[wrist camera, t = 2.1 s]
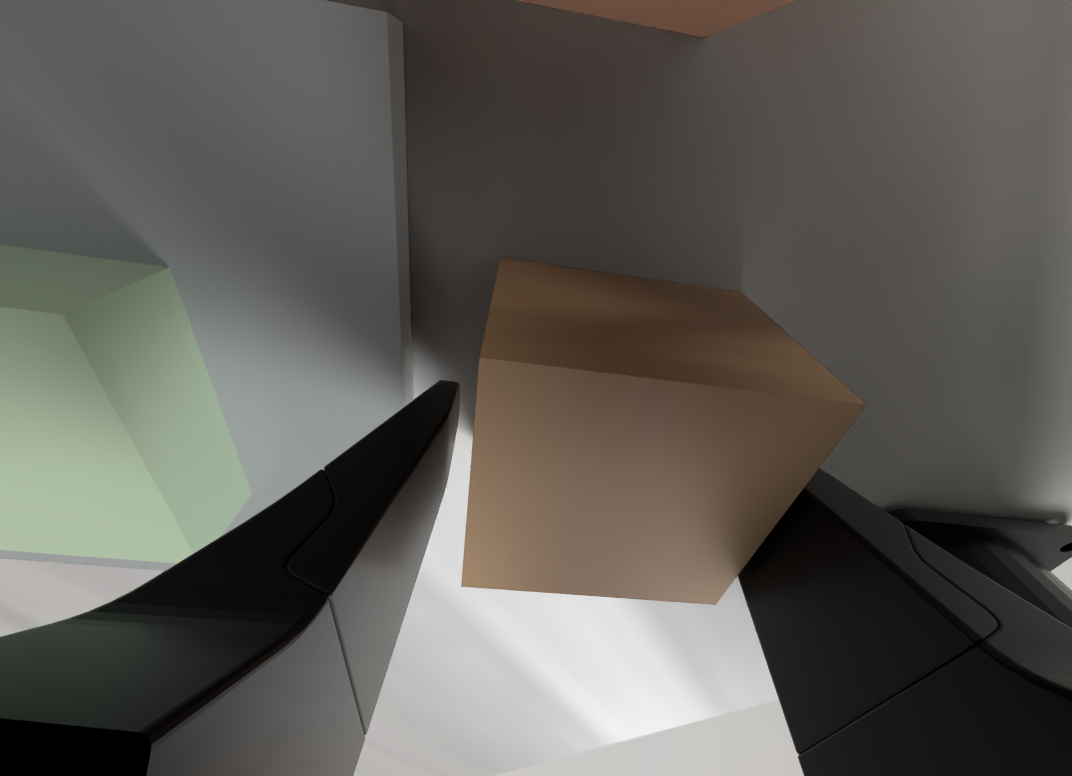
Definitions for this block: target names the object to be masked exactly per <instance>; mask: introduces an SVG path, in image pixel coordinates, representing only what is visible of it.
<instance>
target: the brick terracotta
mask: <svg viewBox="0 0 1072 776" xmlns="http://www.w3.org/2000/svg"><path fill="white" fill-rule="evenodd" d="M517 1H522V2H527V3H532V4H537V5H542V6H547V7H552V8H557V9H562V10H567V11H572V12H577V13H583V14H588V15H593V16H598V17H603V18H608V19H613V20H618V21H623V22H628V23H633V24H638V25H643V26H648V27H653V28H658V29H663V30H669V31H674V32H679V33H684V34H689V35H694V36H699V37H704V38H706V37H709V36H711V35H714V34H716V33H718V32H721V31H723V30H726V29H728V28H731V27H733V26H735V25H738V24H740V23H743V22H745V21H747V20H750V19H752V18H755V17H757V16H759V15H762V14H764V13H767V12H769V11H771V10H774V9H776V8H779V7H781V6H784V5H786V4H788V3H791V2H793V1H796V0H517Z"/></svg>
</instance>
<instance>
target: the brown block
mask: <svg viewBox="0 0 1072 776" xmlns="http://www.w3.org/2000/svg"><path fill="white" fill-rule="evenodd" d="M866 405H867V404H866V403H865V402H863V401H862V400H861V399H860V398H859V397H858V396H857V395H856V394H854V393H853V392H852V391H851V390H850V389H849V388H848V387H847V386H846V385H844V384H843V383H842V382H841V381H840V380H839V379H838V378H837V377H835V376H834V375H833V374H832V373H831V372H830V371H829V370H828V369H827V368H825V367H824V366H823V365H822V364H821V363H820V362H819V361H818V360H816V359H815V358H814V357H813V356H812V355H811V354H810V353H809V352H807V351H806V350H805V349H804V348H803V347H802V346H801V345H800V344H799V343H797V342H796V341H795V340H794V339H793V338H792V337H791V336H790V335H788V334H787V333H786V332H785V331H784V330H783V329H782V328H781V327H780V326H778V325H777V324H776V323H775V322H774V321H773V320H772V319H771V318H769V317H768V316H767V315H766V314H765V313H764V312H763V311H762V310H760V309H759V308H758V307H757V306H756V305H755V304H754V303H753V302H752V301H750V300H749V299H748V298H747V297H746V296H745V295H744V294H743V293H741V292H735V291H729V290H722V289H715V288H708V287H701V286H694V285H687V284H680V283H673V282H666V281H659V280H653V279H646V278H639V277H632V276H625V275H618V274H611V273H604V272H597V271H590V270H584V269H577V268H570V267H563V266H556V265H549V264H542V263H535V262H528V261H521V260H514V259H508V258H501V257H500V261H499V266H498V271H497V276H496V281H495V285H494V290H493V295H492V300H491V304H490V309H489V314H488V319H487V324H486V328H485V333H484V338H483V343H482V347H481V352H480V357H479V369H478V382H477V394H476V407H475V420H474V432H473V445H472V458H471V471H470V483H469V496H468V509H467V521H466V534H465V547H464V559H463V572H462V585H461V587H475V588H489V589H503V590H517V591H531V592H545V593H559V594H573V595H587V596H601V597H615V598H629V599H643V600H657V601H671V602H685V603H699V604H713V605H716V603H717V602H718V601H719V599H720V598H721V597H722V595H723V594H724V593H725V591H726V590H727V589H728V587H729V586H730V585H731V584H732V582H733V581H734V580H735V578H736V577H737V576H738V574H739V573H740V572H741V570H742V569H743V568H744V566H745V565H746V564H747V562H748V561H749V560H750V558H751V557H752V556H753V554H754V553H755V552H756V550H757V549H758V548H759V546H760V545H761V544H762V543H763V541H764V540H765V539H766V537H767V536H768V535H769V533H770V532H771V531H772V529H773V528H774V527H775V525H776V524H777V523H778V521H779V520H780V519H781V517H782V516H783V515H784V513H785V512H786V511H787V509H788V508H789V507H790V505H791V504H792V503H793V502H794V500H795V499H796V498H797V496H798V495H799V494H800V492H801V491H802V490H803V488H804V487H805V486H806V484H807V483H808V482H809V480H810V479H811V478H812V476H813V475H814V474H815V472H816V471H817V470H818V468H819V467H820V466H821V464H822V463H823V462H824V461H825V459H826V458H827V457H828V455H829V454H830V453H831V451H832V450H833V449H834V447H835V446H836V445H837V443H838V442H839V441H840V439H841V438H842V437H843V435H844V434H845V433H846V431H847V430H848V429H849V427H850V426H851V425H852V423H853V422H854V421H855V420H856V418H857V417H858V416H859V414H860V413H861V412H862V410H863V409H864V408H865V406H866Z"/></svg>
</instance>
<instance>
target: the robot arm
mask: <svg viewBox="0 0 1072 776" xmlns="http://www.w3.org/2000/svg"><path fill="white" fill-rule="evenodd" d="M459 406H460V384H459V383H458V382H454V381H446V380H440V381H438V382H437V383H436V384H434V385H433V386H432V387H430V388H429V389H428V390H426V391H425V392H424V393H422V394H421V395H420V396H418V397H417V398H415V399H414V400H413V401H411V402H410V403H409V404H407V405H406V406H405V407H403V408H402V409H401V410H399V411H398V412H397V413H395V414H394V415H393V416H391V417H390V418H389V419H387V420H386V421H385V422H383V423H382V424H381V425H379V426H378V427H377V428H375V429H374V430H373V431H371V432H370V433H369V434H367V435H366V436H365V437H363V438H362V439H361V440H359V441H358V442H357V443H355V444H354V445H353V446H351V447H350V448H349V449H347V450H346V451H345V452H343V453H342V454H340V455H339V456H338V457H336V458H335V459H334V460H332V461H331V462H330V463H328V464H327V465H326V466H325V467H324V470H323V469H321V470H319V471H317V472H316V473H315V474H313V475H312V476H311V477H309V478H308V479H307V480H305V481H304V482H303V483H301V484H300V485H298V486H297V487H296V488H294V489H293V490H291V491H290V492H289V493H287V494H286V495H284V496H283V497H282V498H280V499H279V500H277V501H276V502H274V503H273V504H271V505H270V506H268V507H267V508H265V509H264V510H262V511H260V512H259V513H257V514H256V515H254V516H253V517H251V518H250V519H248V520H246V521H245V522H243V523H242V524H240V525H239V526H237V527H235V528H234V529H232V530H231V531H229V532H227V533H226V534H224V535H222V536H221V537H219V538H218V539H216V540H214V541H213V542H211V543H210V544H208V545H206V546H205V547H203V548H201V549H200V550H198V551H197V552H195V553H193V554H192V555H190V556H189V557H187V558H185V559H184V560H182V561H180V562H179V563H177V564H176V565H174V566H172V567H171V568H169V569H168V570H166V571H164V572H163V573H161V574H159V575H158V576H156V577H155V578H153V579H151V580H150V581H148V582H146V583H145V584H143V585H141V586H140V587H138V588H136V589H134V590H133V591H131V592H129V593H127V594H125V595H123V596H121V597H119V598H117V599H115V600H113V601H111V602H109V603H107V604H105V605H102V606H100V607H98V608H95V609H93V610H91V611H88V612H86V613H83V614H80V615H77V616H74V617H71V618H68V619H65V620H62V621H58V622H55V623H51V624H48V625H44V626H40V627H36V628H32V629H29V630H25V631H21V632H17V633H13V634H9V635H6V636H2V637H0V776H353V774H354V771H355V768H356V765H357V762H358V759H359V756H360V753H361V750H362V747H363V743H364V740H365V736H364V735H366V733H367V731H368V727H369V724H370V721H371V718H372V715H373V712H374V709H375V706H376V703H377V700H378V696H379V693H380V690H381V687H382V684H383V681H384V678H385V675H386V672H387V669H388V665H389V662H390V659H391V656H392V653H393V650H394V647H395V644H396V641H397V638H398V634H399V631H400V628H401V625H402V622H403V619H404V616H405V613H406V610H407V607H408V603H409V600H410V597H411V594H412V591H413V588H414V585H415V582H416V579H417V576H418V573H419V569H420V566H421V563H422V560H423V557H424V554H425V551H426V548H427V545H428V542H429V538H430V535H431V532H432V529H433V526H434V523H435V520H436V517H437V514H438V511H439V507H440V504H441V501H442V498H443V495H444V491H445V488H446V484H447V480H448V475H449V470H450V464H451V459H452V453H453V448H454V442H455V437H456V431H457V426H458V420H459ZM1071 557H1072V526H1070V525H1060V524H1050V523H1040V522H1030V521H1021V520H1011V519H1001V518H991V517H981V516H971V515H961V514H951V513H942V512H932V511H922V510H912V509H898V510H894V511H891V512H889V513H887V512H885V511H884V510H882V509H881V508H879V507H878V506H876V505H875V504H873V503H872V502H870V501H869V500H867V499H866V498H864V497H863V496H861V495H859V494H858V493H856V492H855V491H853V490H852V489H850V488H849V487H847V486H846V485H844V484H843V483H841V482H840V481H838V480H837V479H835V478H834V477H832V476H831V475H829V474H828V473H826V472H825V471H823V470H822V469H820V468H818V470H817V471H816V472H815V474H814V475H813V476H812V478H811V479H810V480H809V482H808V483H807V484H806V486H805V487H804V488H803V490H802V491H801V492H800V494H799V495H798V496H797V498H796V499H795V500H794V502H793V503H792V504H791V505H790V507H789V508H788V509H787V511H786V512H785V513H784V515H783V516H782V517H781V519H780V520H779V521H778V523H777V524H776V525H775V527H774V528H773V529H772V531H771V532H770V533H769V535H768V536H767V537H766V539H765V540H764V541H763V543H762V544H761V545H760V546H759V548H758V549H757V550H756V552H755V553H754V554H753V556H752V557H751V558H750V560H749V561H748V562H747V564H746V565H745V566H744V568H743V569H742V570H741V572H740V573H739V574H738V578H739V581H740V584H741V587H742V590H743V593H744V596H745V599H746V602H747V605H748V608H749V611H750V614H751V617H752V620H753V623H754V626H755V629H756V632H757V635H758V638H759V641H760V644H761V647H762V650H763V653H764V656H765V659H766V662H767V665H768V668H769V671H770V674H771V677H772V680H773V683H774V686H775V689H776V692H777V695H778V698H779V701H780V704H781V707H782V710H783V713H784V716H785V719H786V722H787V725H788V728H789V731H790V733H791V737H792V739H793V742H794V746H795V749H796V751H797V753H798V754H799V755H798V759H799V761H800V765H801V768H802V770H803V774H804V776H1072V591H1071V590H1070V589H1069V588H1068V587H1067V586H1066V585H1065V584H1064V583H1062V582H1061V581H1060V580H1059V579H1058V578H1057V577H1056V576H1055V575H1054V574H1052V573H1051V572H1050V571H1051V570H1053V569H1054V568H1056V567H1057V566H1059V565H1060V564H1062V563H1063V562H1065V561H1066V560H1068V559H1069V558H1071Z"/></svg>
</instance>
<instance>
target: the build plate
mask: <svg viewBox="0 0 1072 776" xmlns="http://www.w3.org/2000/svg"><path fill="white" fill-rule="evenodd" d="M411 401H413V377H412V341H411V304H410V267H409V231H408V194H407V158H406V121H405V84H404V48H403V22H401V21H400V20H398V19H397V18H395V17H394V16H392V15H391V14H389V13H387V12H384V11H379V10H374V9H368V8H363V7H358V6H353V5H348V4H343V3H337V2H332V1H327V0H0V558H1V559H15V560H28V561H42V562H55V563H69V564H82V565H96V566H109V567H123V568H136V569H150V570H163V571H166V570H168V569H169V568H171V567H172V566H174V565H176V564H177V563H179V562H180V561H182V560H184V559H185V558H187V557H189V556H190V555H192V554H193V553H195V552H197V551H198V550H200V549H201V548H203V547H205V546H206V545H208V544H210V543H211V542H213V541H214V540H216V539H218V538H219V537H221V536H222V535H224V534H226V533H227V532H229V531H231V530H232V529H234V528H235V527H237V526H239V525H240V524H242V523H243V522H245V521H246V520H248V519H250V518H251V517H253V516H254V515H256V514H257V513H259V512H260V511H262V510H264V509H265V508H267V507H268V506H270V505H271V504H273V503H274V502H276V501H277V500H279V499H280V498H282V497H283V496H284V495H286V494H287V493H289V492H290V491H291V490H293V489H294V488H296V487H297V486H298V485H300V484H301V483H303V482H304V481H305V480H307V479H308V478H309V477H311V476H312V475H313V474H315V473H316V472H317V471H319V470H321V469H323V470H324V467H325V466H326V465H327V464H328V463H330V462H331V461H332V460H334V459H335V458H336V457H338V456H339V455H340V454H342V453H343V452H345V451H346V450H347V449H349V448H350V447H351V446H353V445H354V444H355V443H357V442H358V441H359V440H361V439H362V438H363V437H365V436H366V435H367V434H369V433H370V432H371V431H373V430H374V429H375V428H377V427H378V426H379V425H381V424H382V423H383V422H385V421H386V420H387V419H389V418H390V417H391V416H393V415H394V414H395V413H397V412H398V411H399V410H401V409H402V408H403V407H405V406H406V405H407V404H409V403H410V402H411Z"/></svg>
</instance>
